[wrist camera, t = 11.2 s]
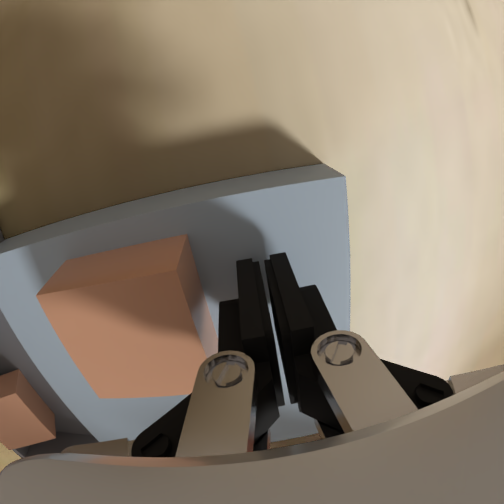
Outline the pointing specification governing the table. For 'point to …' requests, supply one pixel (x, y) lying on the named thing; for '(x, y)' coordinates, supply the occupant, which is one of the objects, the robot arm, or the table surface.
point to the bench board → (208, 266)
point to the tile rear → (23, 413)
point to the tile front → (133, 318)
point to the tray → (66, 423)
